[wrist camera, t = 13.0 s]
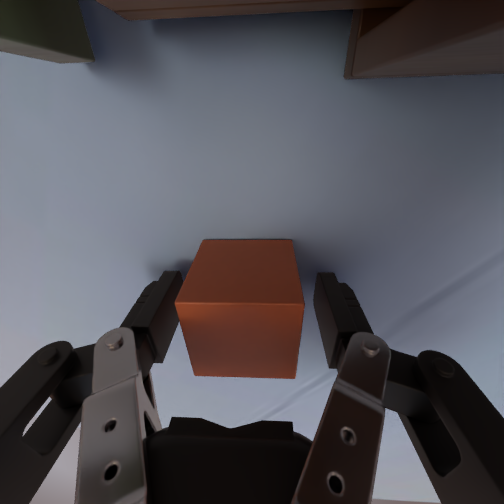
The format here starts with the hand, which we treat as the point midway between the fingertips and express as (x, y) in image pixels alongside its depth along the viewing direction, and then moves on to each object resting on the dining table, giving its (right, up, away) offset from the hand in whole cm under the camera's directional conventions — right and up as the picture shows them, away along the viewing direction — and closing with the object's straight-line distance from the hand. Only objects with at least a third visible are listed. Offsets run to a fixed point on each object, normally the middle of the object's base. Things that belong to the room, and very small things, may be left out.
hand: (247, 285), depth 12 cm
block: (0, +1, +1) cm, 1 cm away
